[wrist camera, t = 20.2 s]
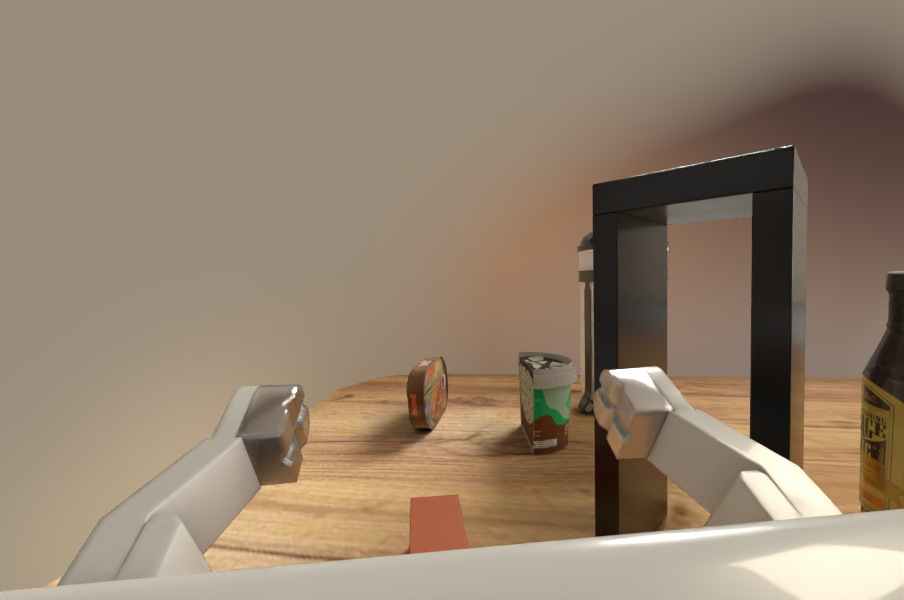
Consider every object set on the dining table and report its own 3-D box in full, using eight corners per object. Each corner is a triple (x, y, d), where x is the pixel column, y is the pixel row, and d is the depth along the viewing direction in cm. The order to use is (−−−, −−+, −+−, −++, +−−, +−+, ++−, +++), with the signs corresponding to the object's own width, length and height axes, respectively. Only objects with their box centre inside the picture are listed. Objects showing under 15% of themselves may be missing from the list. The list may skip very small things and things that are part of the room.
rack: (786, 668, 20) (794, 144, 19) (595, 570, 27) (592, 184, 26) (801, 564, 27) (807, 179, 26) (647, 508, 34) (646, 203, 33)
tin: (428, 439, 50) (426, 373, 50) (404, 438, 51) (402, 373, 51) (450, 403, 65) (448, 352, 65) (431, 402, 66) (430, 351, 65)
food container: (592, 460, 43) (591, 369, 43) (535, 460, 44) (534, 370, 43) (563, 420, 56) (562, 350, 55) (519, 421, 56) (518, 350, 55)
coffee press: (709, 416, 56) (710, 201, 55) (609, 428, 52) (608, 198, 51) (627, 385, 73) (626, 221, 71) (547, 393, 69) (545, 219, 68)
